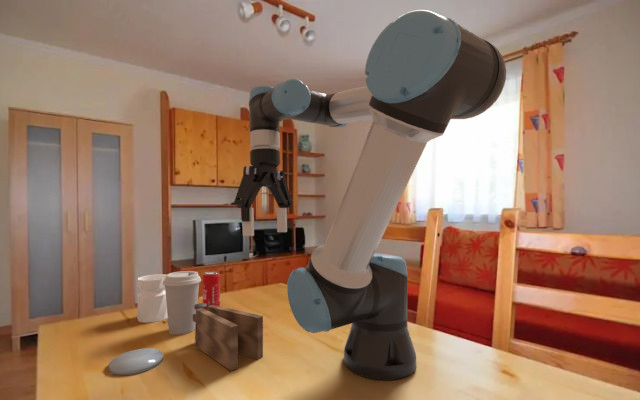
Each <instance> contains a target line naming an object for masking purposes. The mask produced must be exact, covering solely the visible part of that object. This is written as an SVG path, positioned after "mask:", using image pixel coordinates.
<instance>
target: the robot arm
mask: <svg viewBox="0 0 640 400" xmlns="http://www.w3.org/2000/svg"><path fill="white" fill-rule="evenodd" d="M371 46H372V47H371V48H370V50H369V53H368V55H367V59H366V62H365V67H364V74H365V75H366V76H367V77H366V78H365V86H360V87H355V88H350V89H346V90H343V91H338V92H334V93H324V92H319V91H315V90H312V89H309V87H308V86H307V84H305V83H304V82H303V81H302V80H301V79H297V78H289V79H287V80H285V81H282V82H280V83H278V84H277V85H276V86H274V87H273V86H270V85H259V86H254V87H252V88H251V89H250V91H249V99H248V108H249V109H248V111H249V113H248V115H249V141H250V142H249V144H250V147H249V148H250V149H251V150H250V152H249V164H250V165H248V166H247V165H246V166H244V167H243V174H242V178H241V181H240V184H239V186H238V189H237V193H236V195H235V198H234V200H233V202H234V203H233V204H234V205H235V206H237V208H238V209H240V210H241V222H242V236H243V237H244V236H245V237H254V236H255V217H254V216H255V215H254V214H255V213H254V207H252V205H253V203H254V201H255V200H256V198H257V196H258V194H259V192H260V190H261V189H262V188H263V187H264V188H267V189H269V190H270V192H271V195H272V196H273V199H274V200H275V202H276V204H277V206H278V207H276V232H277V233H287V232H288V208H289V209H290V208H291V207H292V205H293V201H292V198H291V193H290V191H289V188H288V184H287V180H286V174H285V173H286V172H285V171H284V170H278V166H279V165H281V152H280V149H281V132H280V131H281V130H280V129H281V128H280V125H281V124H280V122H283V121H285V120H294V121H300V122H306V123H313V124H316V125H322V126H326V127H327V126H328V127H331V128H344V127H346V126H347V124H348V125H349V124H355V123H362V122H364V123H365V122H371V125H370V127H369V131H368V133H367V136H366V138H365V141H364V144H363V145H362V148H361V150H360V153H359V156H358V158H357V160H356V164H355V165H354V168H353V171H352V173H351V177H350V179H349V181H348V184H347V186H346V189H345V191H344V194H343V197H342V199H341V201H340V204H339V206H338V208H337V212H336V214H335V217H334V220H333V222H332V224H331V227H330V229H329V232H328V234H327V237H326V240H325V243H324V244H322V245H319V246H317V247H315V248H314V249H313V250H312V252H311V255H310V257H309V259H308V263H307V265H306V266H305V267H297V268H296V269H293V270H292V271H291V273H290V274H289V275H288V279H287V284H286V292H287V299H288V304H289V307H290V311H291V313H292V315H293V318H294V319H295V321H296V322H297V324H298V326H300V328H302V329H303V330H304V331H305V332H308V333H311V334H316V333H317V334H319V333H321V332H326V333H327V332H330V331H331V330H332V331H333V330H334V329H338V328H340V327H344V326H349V325H351V327H350V330H349V333H348V336H347V339H346V342H345V345H344V349H343V363H344V365H345V367H346V368H347V369H348V370H350V371H351V372H353V373H355V374H357V375H359V376H361V377H364V378H368V379H372V380H380V381H392V380H393V381H394V380H399V379H403V378H406V377H408V376H410V375H412V374H413V373H414V372H416V369H417V353H416V350H415V346H414V343H413V341H412V337H411V335H410V331H409V329H408V279H409V275H408V268H407V261H406V260H405V259H404V258H403V257H401V256H397V255H393V254H386V253H379V252H378V253H377V252H376V251H377V249H378V247H379V244H380V243H381V240H382V238H383V236H384V235H385V232H386V230H387V228H388V225H389V224H390V222H391V219H392V217H393V215H394V213H395V211H396V209H397V207H398V205H399V203H400V201H401V198H402V196H403V194H404V192H405V190H406V188H407V186H408V184H409V181H410V180H411V177H412V175H413V173H414V171H415V169H416V168H417V165H418V163H419V161H420V158H421V156H422V155H423V152H424V150H425V148H426V146H427V144H428V142H430V141H431V140H434V139H436V138H439V137H441V136H443V135H444V133H445V132H446V130H447V127H448V125H449V123H450V121H451V120H467V119H472V118H474V117H476V116H479V115H481V114H483V113H485V112H486V111H487V110H488V109H490V108H491V107H492V106H493V105H494V104H495V103H496V102H497V100H498V99H499V97H500V96H501V95H502V93H503V91H504V87H505V84H506V80H507V68H506V62H505V60H504V59H505V58H503V54H502V53H501V52H500V50H499V49H498V48H497V47H496V46H495V45H494V44H492V43H491V42H489V41H487V39H483V38H482V37H479V35H478V36H477V35H476V34H474V33H473V32H472V31H470V30H468V29H466V28H465V27H464V26H462V25H461V24H459V23H457V22H456V21H455V20H454V19H452V18H450V17H449V18H448V17H446V16H444V15H441V14H438V13H435V12H433V11H431V10H425V9H417V10H412V11H409V12H406V13H404V14H402V15H400V16H398V17H397V18H396V19H395V21H392V22H390V23H388V25H387V26H386V27H385V28H384V29H383V30H382V31H381V32H380V34H378V36H377V38H376V39H375V40H374V43H373V44H372V45H371Z"/></svg>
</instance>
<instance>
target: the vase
mask: <svg viewBox="0 0 640 400" xmlns="http://www.w3.org/2000/svg"><path fill="white" fill-rule="evenodd" d="M166 275H167V274H162V273H157V274H155V273H154V274H148V275H146V274H145V275H143V276H139V277H137V285H136V286H137V287H136V288H137V289H139V290H140V292H139V293H137V294H136V297H137V308H136V318H137V321H138V322H140V323H143V324H144V323H147V324H149V323H156V322H160V321H164V320H166V319H168V314H167V303H166V293H165V285H163V281H164V279H165V278H166Z"/></svg>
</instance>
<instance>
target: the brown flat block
mask: <svg viewBox="0 0 640 400" xmlns="http://www.w3.org/2000/svg"><path fill="white" fill-rule="evenodd" d="M200 308H203V309H206V308H207V304H206V303H203V302H201V303H199V302H198V303H197V304H196V305H194V309H195V310H196V309H200ZM208 311H210V312H212V313H214V314H216V315H218V316H220V317H222V318H224V319H226V320H228V321H230V322H232V323H234V324H236V325H238V355H242V356H245V357H247V358H252V359H254V360H260V359H262V358H264V329H263V328H264V315H260V314H257V313H256V314H255V313H251V312H247V311H241V310H239V309H233V308H229V307H225V306H221V305H220V306H216V305H211V306H208ZM194 336H195V339H194V343H195V345H196V324H195V330H194Z"/></svg>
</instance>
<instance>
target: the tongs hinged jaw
mask: <svg viewBox="0 0 640 400" xmlns="http://www.w3.org/2000/svg"><path fill="white" fill-rule="evenodd" d="M193 321H194V322H195V323H196V344H195V348H197V349H198V350H199V351H202V352H203V353H204V354H206V356H209V357H210V358H211V359H213V360H214V361H216V362H218V363H219V364H220V365H222V366H223V367H225V368H226V369H227V370H228V371H233V370H237V369H238V368H239V361H238V360H239V354H238V325H236V324H234V323H232V322H230V321H228V320H226V319H224V318H222V317H220V316H218V315H216V314H214V313H212V312H210V311H208V310H205V309H203V308H200V309H196V314H193Z"/></svg>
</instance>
